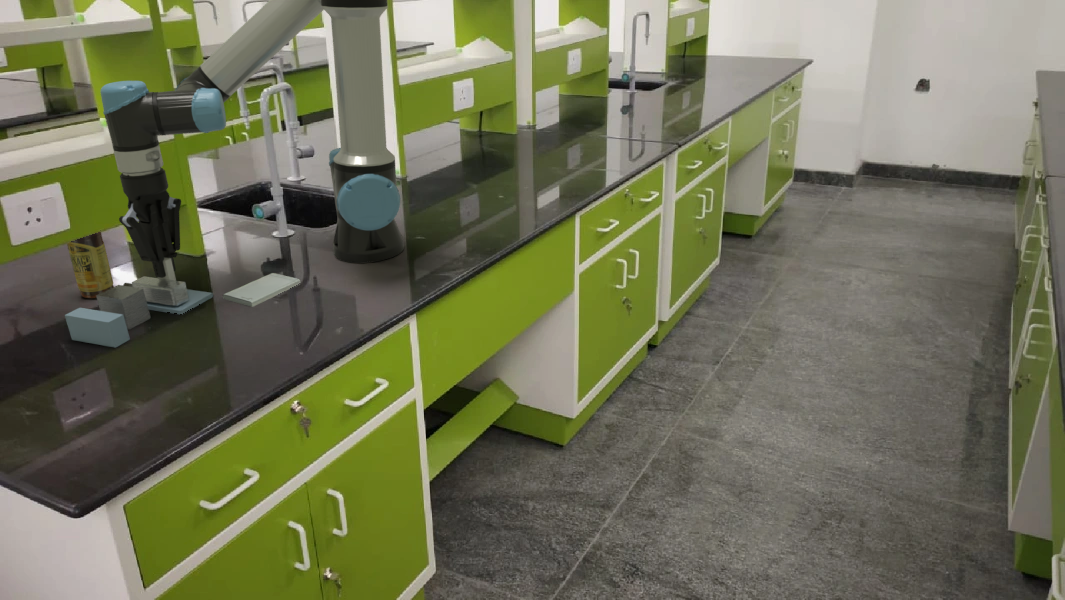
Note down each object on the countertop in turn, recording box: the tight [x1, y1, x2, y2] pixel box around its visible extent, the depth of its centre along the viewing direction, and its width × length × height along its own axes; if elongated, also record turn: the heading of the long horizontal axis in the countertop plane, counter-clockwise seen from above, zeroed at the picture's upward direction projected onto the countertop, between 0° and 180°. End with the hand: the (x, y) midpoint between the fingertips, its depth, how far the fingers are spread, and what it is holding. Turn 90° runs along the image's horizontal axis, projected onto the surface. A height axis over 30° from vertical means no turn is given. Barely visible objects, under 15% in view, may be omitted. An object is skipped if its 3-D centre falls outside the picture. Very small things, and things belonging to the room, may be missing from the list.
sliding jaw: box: [122, 275, 189, 306], centre depth 153 cm, size 14×3×4 cm, turn 69°
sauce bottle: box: [66, 231, 115, 299], centre depth 156 cm, size 7×6×20 cm
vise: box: [64, 288, 214, 348], centre depth 149 cm, size 13×23×5 cm, turn 159°
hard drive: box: [222, 272, 301, 308], centre depth 159 cm, size 2×8×12 cm
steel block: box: [96, 284, 152, 331], centre depth 147 cm, size 6×5×6 cm
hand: (169, 290), depth 155 cm, fingers closed
